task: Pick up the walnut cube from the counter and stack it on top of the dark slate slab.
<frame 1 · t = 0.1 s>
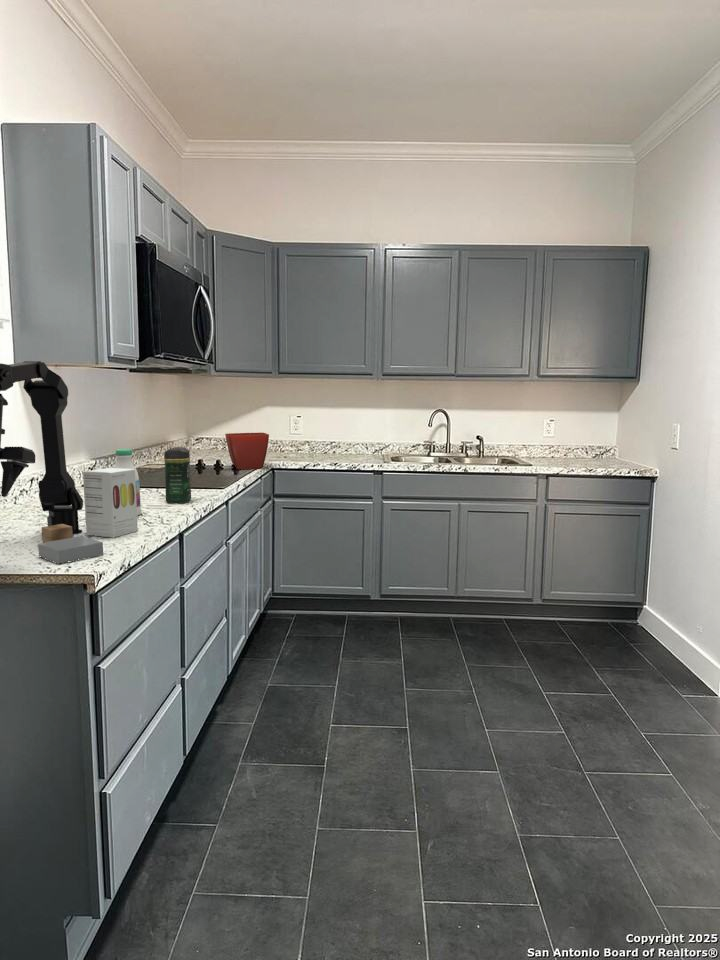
milk bottle: (127, 516, 188), on the worktop
walnut cube: (58, 547, 150), on the worktop
supplement box: (112, 533, 165), on the worktop
coffee jar: (179, 502, 212), on the worktop
slate slab: (71, 555, 142), on the worktop
plant pot: (247, 468, 308), on the worktop
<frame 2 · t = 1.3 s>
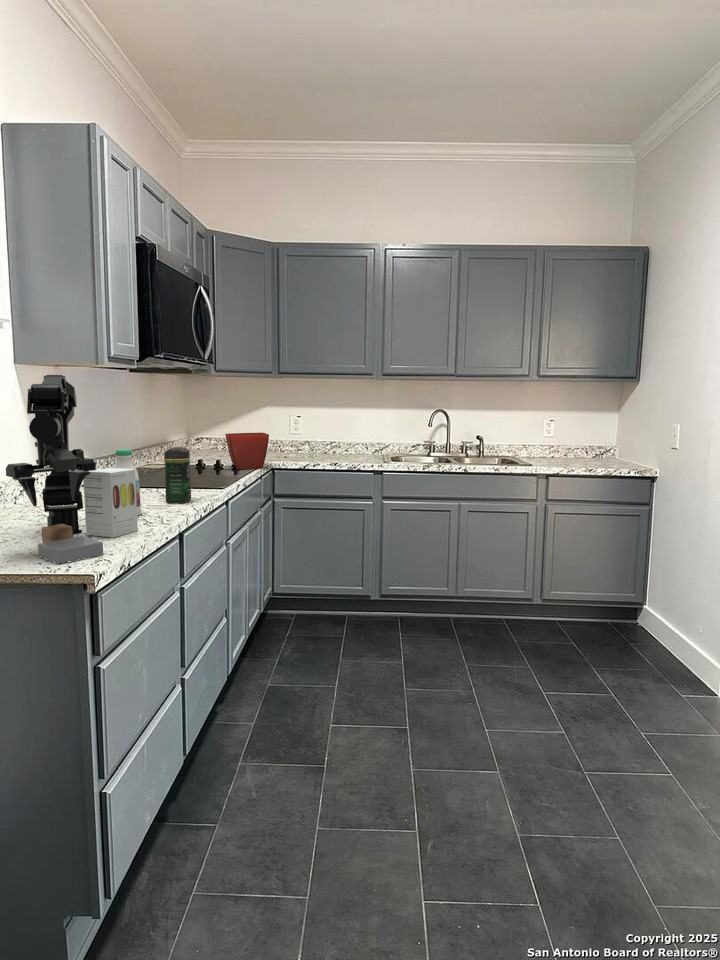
hand: (55, 503, 149), 11 cm above the worktop, tool pointing down, fingers open, 9 cm apart
nothing on the worktop moved.
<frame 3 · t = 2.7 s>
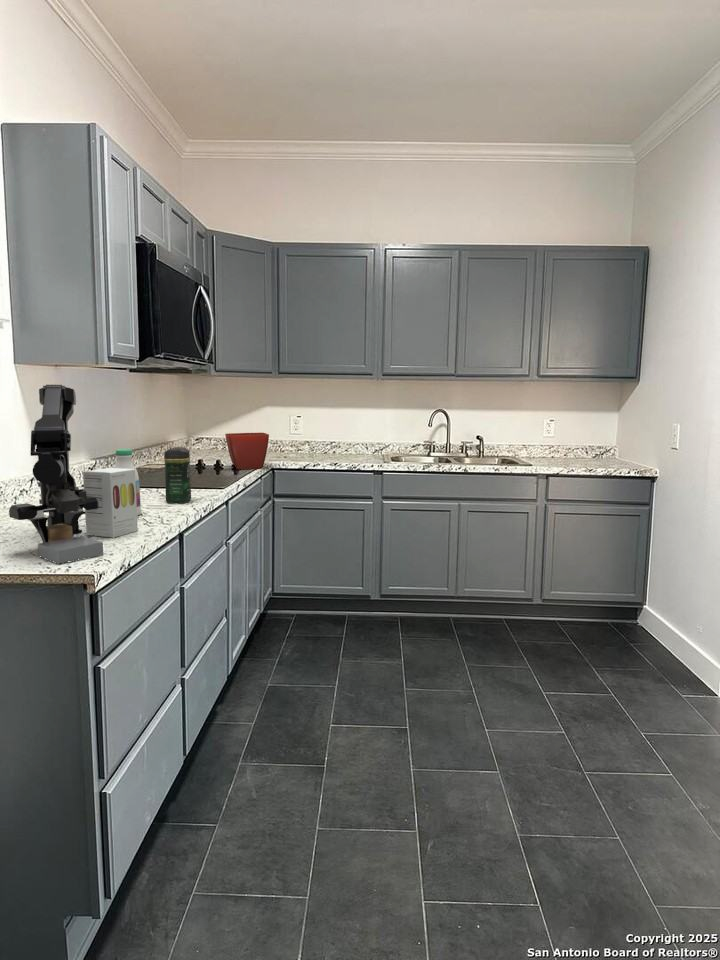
hand: (57, 542, 150), 1 cm above the worktop, tool pointing down, fingers closed on walnut cube, 5 cm apart
walnut cube: (58, 546, 150), on the worktop, touching gripper
everything else where it was.
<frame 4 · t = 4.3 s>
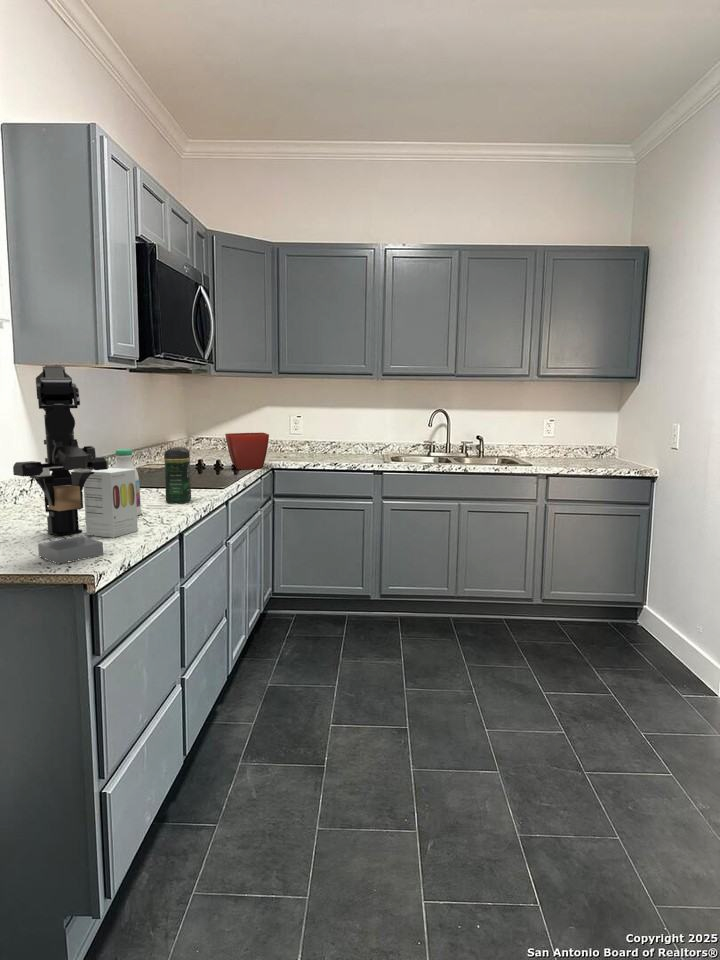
hand: (64, 504, 141), 12 cm above the worktop, tool pointing down, fingers closed on walnut cube, 5 cm apart
walnut cube: (65, 508, 141), point 11 cm above the worktop, touching gripper
everything else where it was.
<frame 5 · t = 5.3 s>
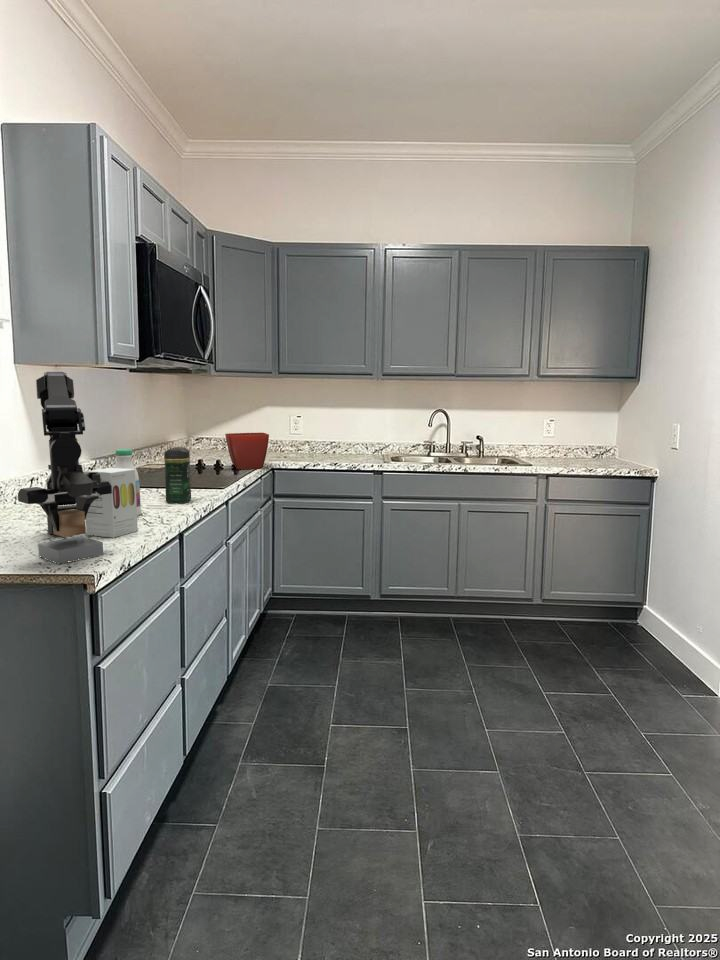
hand: (69, 529, 141), 6 cm above the worktop, tool pointing down, fingers closed on walnut cube, 5 cm apart
walnut cube: (69, 533, 141), point 5 cm above the worktop, touching gripper
everything else where it was.
when the fingers open (5 cm above the worktop, at t = 5.9 s): walnut cube stays where it is, resting on slate slab.
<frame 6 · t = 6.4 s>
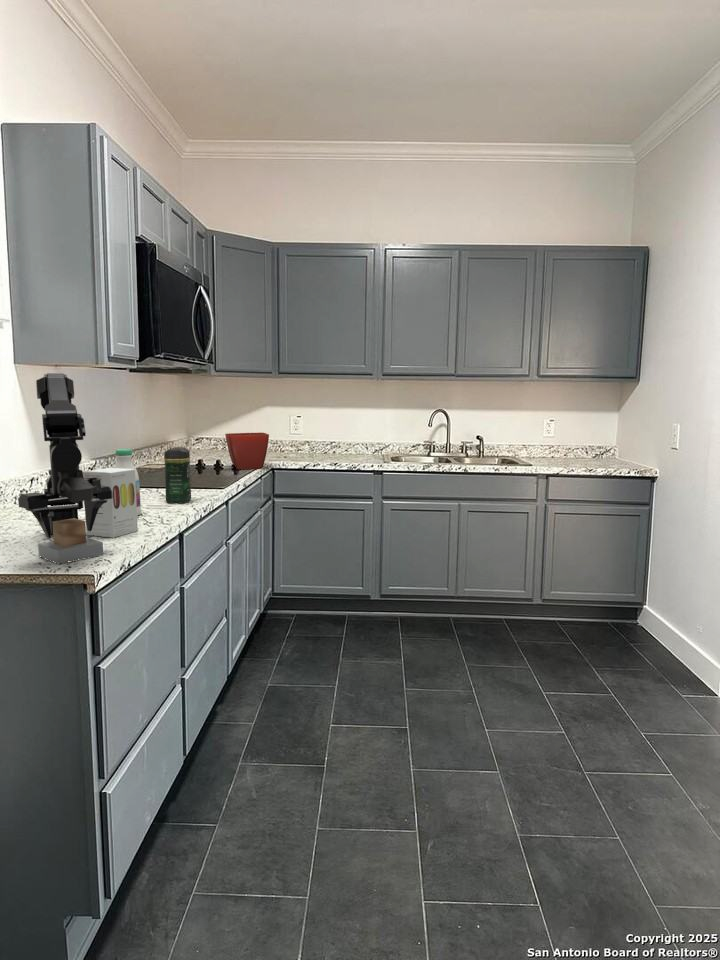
hand: (69, 534, 141), 5 cm above the worktop, tool pointing down, fingers open, 9 cm apart
walnut cube: (70, 543, 141), point 3 cm above the worktop, touching slate slab
everything else where it was.
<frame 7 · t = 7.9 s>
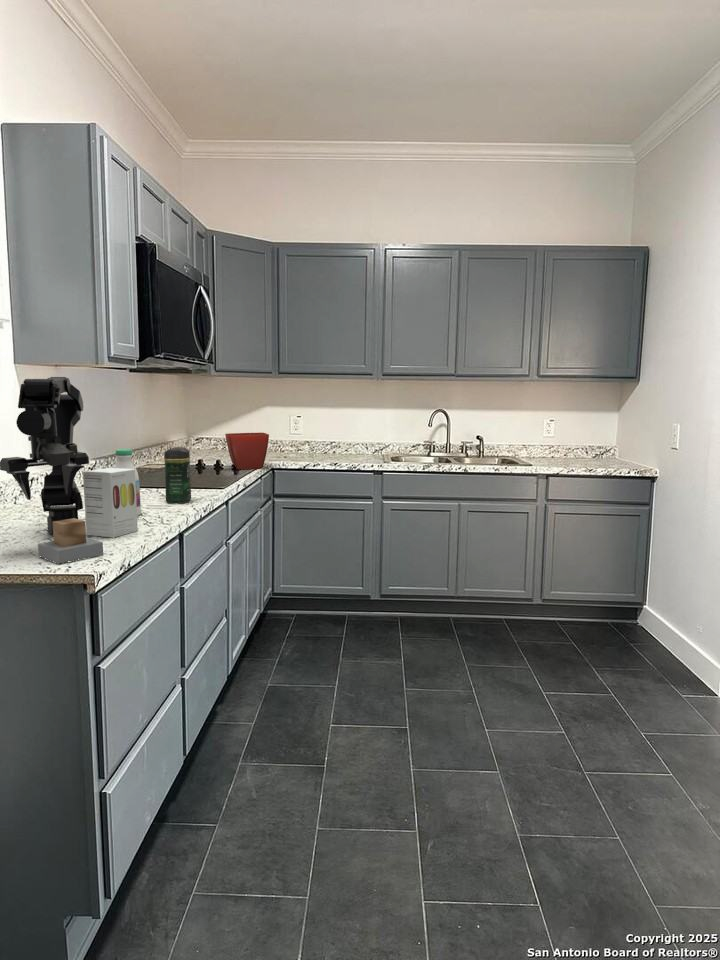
hand: (48, 496, 151), 12 cm above the worktop, tool pointing down, fingers open, 9 cm apart
nothing on the worktop moved.
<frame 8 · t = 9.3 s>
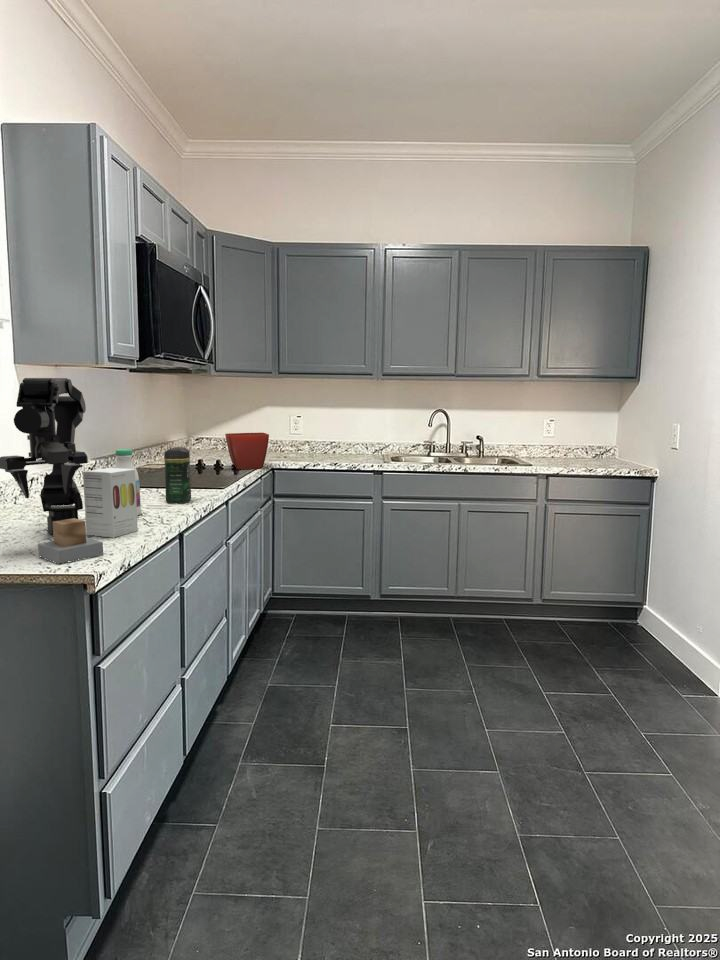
hand: (47, 495, 151), 12 cm above the worktop, tool pointing down, fingers open, 9 cm apart
nothing on the worktop moved.
at the end: walnut cube 0.0 cm off-centre on the slate slab, point 3.0 cm above the slate slab's base; walnut cube tilted 0°; the gripper is holding nothing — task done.
